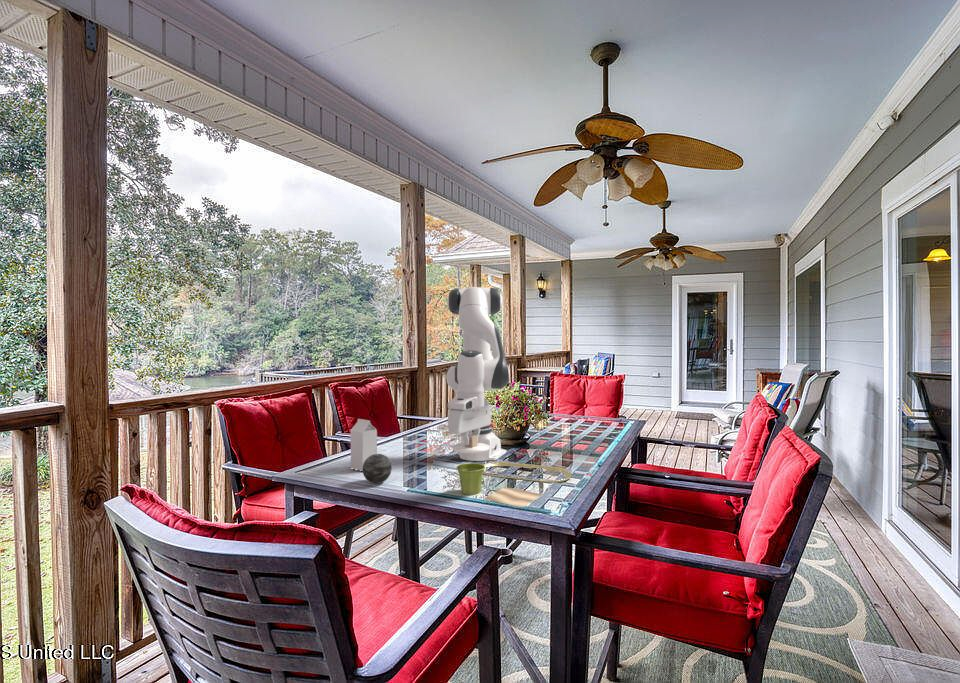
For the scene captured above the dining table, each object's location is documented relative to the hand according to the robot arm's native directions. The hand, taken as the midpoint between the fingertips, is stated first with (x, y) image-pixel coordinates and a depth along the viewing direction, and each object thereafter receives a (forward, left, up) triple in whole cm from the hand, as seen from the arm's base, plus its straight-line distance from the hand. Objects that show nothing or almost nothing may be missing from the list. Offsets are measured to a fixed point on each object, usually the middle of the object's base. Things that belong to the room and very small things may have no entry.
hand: (470, 443), depth 158 cm
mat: (-3, +14, -16) cm, 22 cm away
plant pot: (0, 0, -17) cm, 17 cm away
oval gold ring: (-29, +4, -17) cm, 34 cm away
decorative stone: (+8, -34, -17) cm, 39 cm away
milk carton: (-2, -51, -17) cm, 54 cm away
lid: (0, 0, -2) cm, 2 cm away
